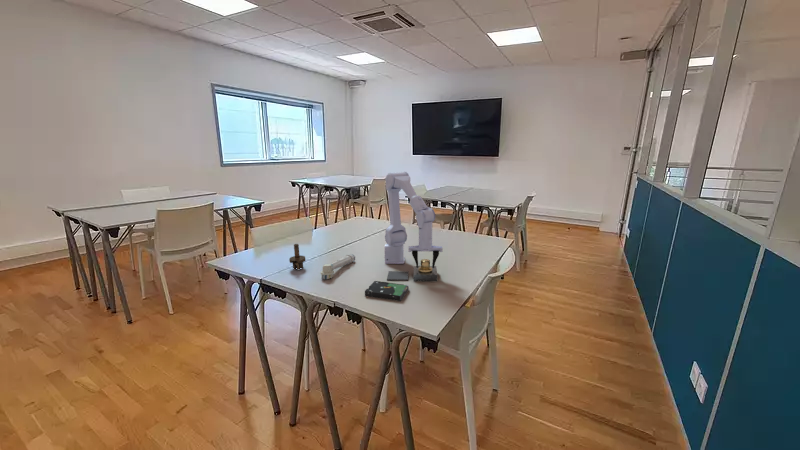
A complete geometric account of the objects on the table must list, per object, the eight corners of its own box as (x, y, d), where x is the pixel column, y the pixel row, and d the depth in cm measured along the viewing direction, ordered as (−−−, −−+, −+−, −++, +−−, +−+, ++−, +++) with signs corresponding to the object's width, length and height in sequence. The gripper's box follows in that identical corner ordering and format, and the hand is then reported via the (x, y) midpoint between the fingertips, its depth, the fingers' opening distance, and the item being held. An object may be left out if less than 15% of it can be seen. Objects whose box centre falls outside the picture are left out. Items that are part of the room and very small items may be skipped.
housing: (413, 281, 138) (413, 274, 137) (414, 272, 147) (414, 266, 146) (437, 281, 137) (437, 274, 136) (436, 272, 147) (436, 266, 146)
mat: (386, 280, 139) (386, 279, 139) (388, 272, 147) (388, 271, 147) (407, 280, 138) (407, 279, 138) (408, 272, 147) (408, 271, 147)
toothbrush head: (356, 254, 161) (328, 264, 138) (356, 267, 162) (328, 280, 139) (347, 253, 163) (318, 263, 140) (347, 266, 164) (318, 278, 141)
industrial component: (301, 272, 149) (299, 247, 147) (287, 271, 151) (284, 246, 148) (310, 264, 158) (308, 241, 155) (296, 263, 160) (294, 240, 157)
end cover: (418, 279, 139) (418, 263, 138) (418, 274, 145) (418, 258, 143) (432, 279, 139) (432, 263, 137) (431, 274, 145) (432, 258, 143)
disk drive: (364, 297, 125) (401, 302, 120) (364, 291, 124) (401, 295, 120) (374, 286, 134) (409, 290, 130) (374, 280, 134) (408, 284, 129)
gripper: (408, 239, 134) (408, 270, 138) (443, 239, 133) (442, 270, 137) (408, 235, 141) (408, 264, 144) (442, 235, 140) (441, 264, 143)
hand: (425, 267), depth 141 cm, fingers open, 6 cm apart
